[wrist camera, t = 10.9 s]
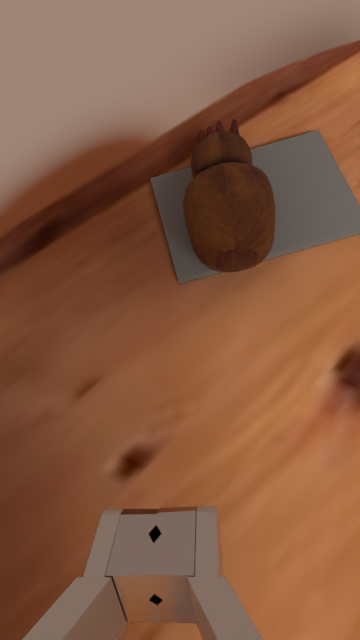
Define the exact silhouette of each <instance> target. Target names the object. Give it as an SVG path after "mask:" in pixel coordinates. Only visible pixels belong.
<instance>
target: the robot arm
mask: <svg viewBox="0 0 360 640" xmlns="http://www.w3.org/2000/svg"><path fill="white" fill-rule="evenodd" d="M131 622H176V623H197V627H198V629H199V631H200V633H201V636H202V638H203V640H263V639H262V638H261V636H260V634H259V632H258V631H257V629H256V627H255V626H254V624H253V622H252V621H251V619H250V617H249V616H248V614H247V612H246V611H245V609H244V607H243V606H242V604H241V602H240V601H239V599H238V597H237V595H236V594H235V592H234V590H233V589H232V587H231V585H230V584H229V582H228V580H227V579H226V577H223V557H222V546H221V535H220V526H219V518H218V509H217V506H212V507H197V506H196V507H173V508H160V509H105V510H104V512H103V513H102V515H101V517H100V520H99V524H98V527H97V530H96V534H95V537H94V540H93V544H92V547H91V550H90V554H89V557H88V560H87V564H86V567H85V570H84V574H83V577H76V579H75V580H74V581H73V582H72V583H71V584H70V585H69V587H68V588H67V589H66V590H65V591H64V592H63V593H62V595H61V596H60V597H59V598H58V599H57V600H56V601H55V603H54V604H53V605H52V606H51V607H50V608H49V609H48V611H47V612H46V613H45V614H44V615H43V616H42V617H41V619H40V620H39V621H38V622H37V623H36V624H35V625H34V626H33V628H32V629H31V630H30V631H29V632H28V633H27V634H26V636H25V637H24V638H23V639H22V640H119V639H120V637H121V635H122V634H123V632H124V630H125V629H126V627H127V623H131Z"/></svg>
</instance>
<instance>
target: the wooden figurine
mask: <svg viewBox="0 0 360 640" xmlns="http://www.w3.org/2000/svg"><path fill="white" fill-rule="evenodd" d="M191 170H192V176H193V179H192V180H191V181H190V182H189V184H188V186H187V188H186V191H185V195H184V200H183V210H184V218H185V224H186V228H187V231H188V235H189V238H190V241H191V245H192V247H193V250H194V252H195V254H196V256H197V257H198V259H199V260H200V261H201V263H203V264H204V265H205V266H206V267H207V268H209V269H211V270H214V271H217V272H237V271H241V270H245V269H248V268H251V267H254V266H256V265H257V264H259V263H261V262H262V261H263V260H264V259H265V258H266V256H267V255H268V254H269V252H270V251H271V248H272V245H273V242H274V232H275V221H276V208H275V201H274V195H273V190H272V186H271V184H270V182H269V179H268V177H267V175H266V174H265V173H264V172H263V171H262V170H261V169H259V168H257V167H255V166H253V165H252V153H251V150H250V148H249V146H248V144H247V143H246V141H245V140H244V139H243V138H242V137H241V136H240V135H239V131H238V126H237V121H236V120H233V121H232V125H231V130H230V132H227V131H224V128H223V126H222V124H221V122H220V121H217V128H216V132H213V130H212V128H211V127H208V129H207V136H206V135H205V134H204V133H203V132H202V131H200V134H199V138H198V145H197V146H196V147H195V150H194V152H193V156H192V159H191Z"/></svg>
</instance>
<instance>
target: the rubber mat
mask: <svg viewBox="0 0 360 640" xmlns="http://www.w3.org/2000/svg"><path fill="white" fill-rule="evenodd" d="M250 150H251V153H252V165H253V166H255V167H257V168H259V169H261V170H262V171H263V172H264V173H265V174H266V175H267V177H268V179H269V182H270V184H271V186H272V190H273V195H274V201H275V208H276V221H275V232H274V242H273V245H272V248H271V251H270V252H269V254H268V255H267V256H266V258H265V259H264V260H268V259H271V258H275V257H278V256H282V255H286V254H289V253H293V252H296V251H300V250H304V249H307V248H311V247H314V246H318V245H322V244H325V243H329V242H332V241H336V240H340V239H343V238H347V237H350V236H354V235H358V234H360V206H359V204H358V202H357V200H356V198H355V197H354V195H353V193H352V191H351V189H350V187H349V186H348V184H347V182H346V180H345V178H344V176H343V175H342V173H341V171H340V169H339V167H338V165H337V164H336V162H335V160H334V158H333V156H332V154H331V153H330V151H329V149H328V147H327V145H326V143H325V142H324V140H323V138H322V136H321V134H320V132H319V131H318V130H315V131H312V132H308V133H305V134H302V135H298V136H295V137H291V138H288V139H284V140H281V141H277V142H274V143H270V144H267V145H263V146H260V147H256V148H253V149H250ZM150 179H151V183H152V187H153V190H154V194H155V198H156V201H157V205H158V209H159V212H160V216H161V220H162V224H163V227H164V231H165V235H166V238H167V242H168V246H169V249H170V253H171V257H172V260H173V264H174V268H175V271H176V275H177V279H178V282H179V284H181V283H185V282H188V281H192V280H196V279H199V278H203V277H206V276H210V275H214V274H217V273H221V272H217V271H214V270H211V269H209V268H207V267H206V266H205V265H204V264H203V263H201V261H200V260H199V259H198V257H197V256H196V254H195V252H194V250H193V247H192V245H191V241H190V238H189V235H188V231H187V228H186V224H185V218H184V210H183V200H184V195H185V191H186V188H187V186H188V184H189V182H190V181H191V180H192V179H193V176H192V170H191V167H187V168H184V169H180V170H177V171H173V172H170V173H166V174H163V175H159V176H156V177H152V178H150ZM264 260H263V261H264Z"/></svg>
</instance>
